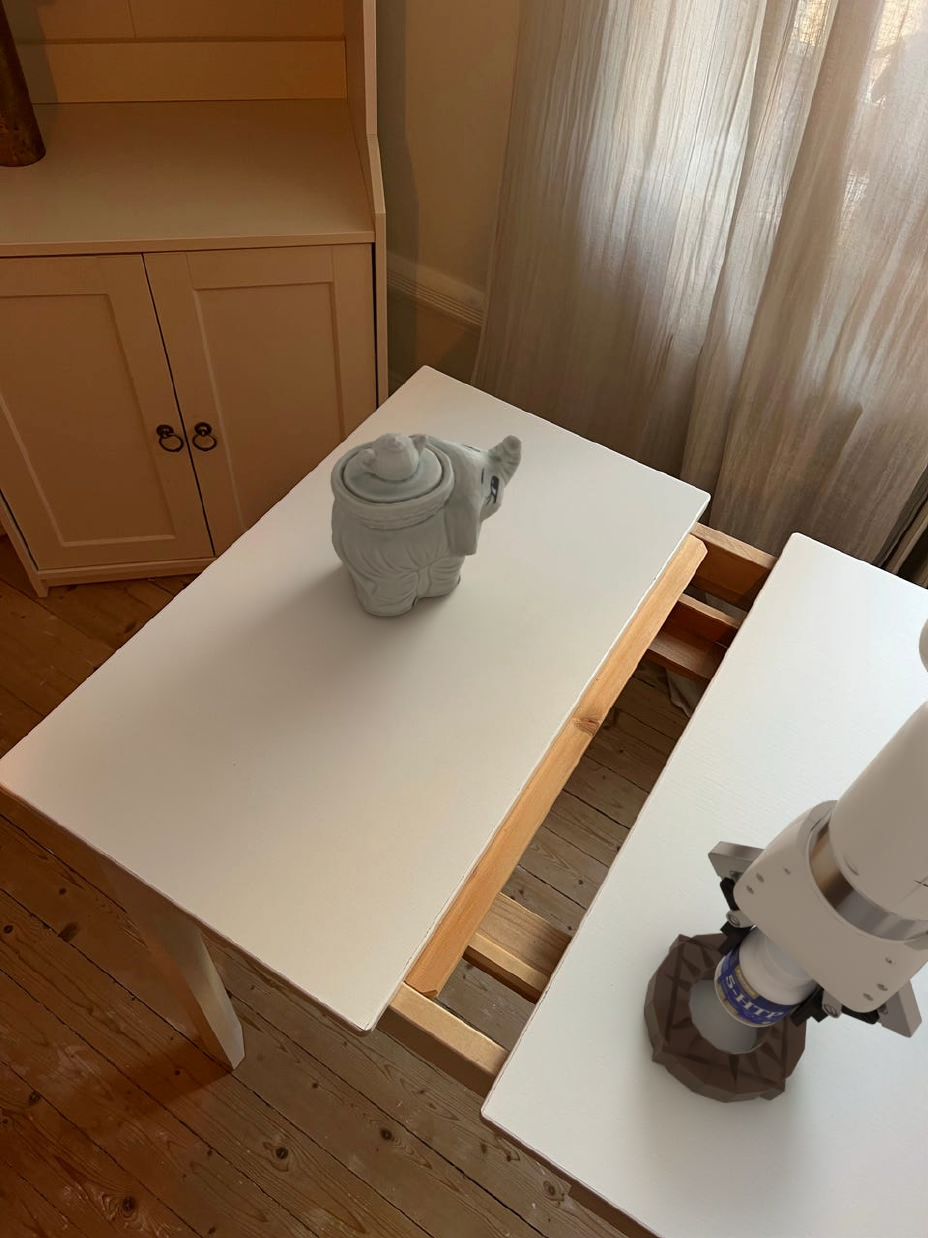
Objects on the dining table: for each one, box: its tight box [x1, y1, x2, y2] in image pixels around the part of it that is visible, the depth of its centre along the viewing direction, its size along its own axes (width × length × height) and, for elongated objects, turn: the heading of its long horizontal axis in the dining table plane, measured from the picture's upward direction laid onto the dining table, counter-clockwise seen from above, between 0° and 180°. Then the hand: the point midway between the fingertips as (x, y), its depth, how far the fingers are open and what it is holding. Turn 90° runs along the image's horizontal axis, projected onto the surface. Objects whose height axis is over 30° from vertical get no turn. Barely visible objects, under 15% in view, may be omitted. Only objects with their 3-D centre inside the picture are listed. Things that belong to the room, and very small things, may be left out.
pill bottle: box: [714, 925, 818, 1028], centre depth 64 cm, size 5×5×9 cm
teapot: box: [329, 432, 523, 617], centre depth 91 cm, size 16×15×19 cm
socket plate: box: [643, 932, 808, 1104], centre depth 72 cm, size 11×11×3 cm
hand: (769, 972), depth 64 cm, fingers closed on pill bottle, 5 cm apart
